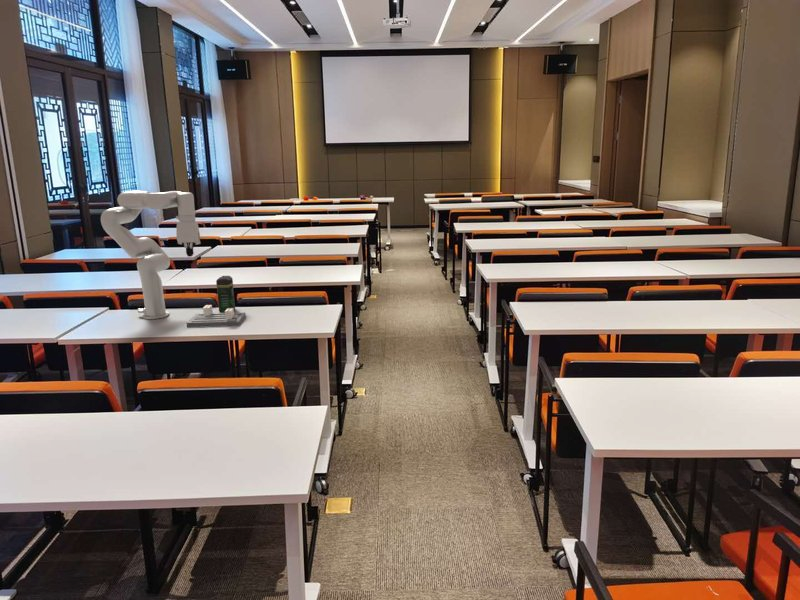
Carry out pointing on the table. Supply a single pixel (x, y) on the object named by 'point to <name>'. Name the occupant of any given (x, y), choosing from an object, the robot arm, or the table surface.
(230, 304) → the coffee jar
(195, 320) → the console
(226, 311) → the fader cap
